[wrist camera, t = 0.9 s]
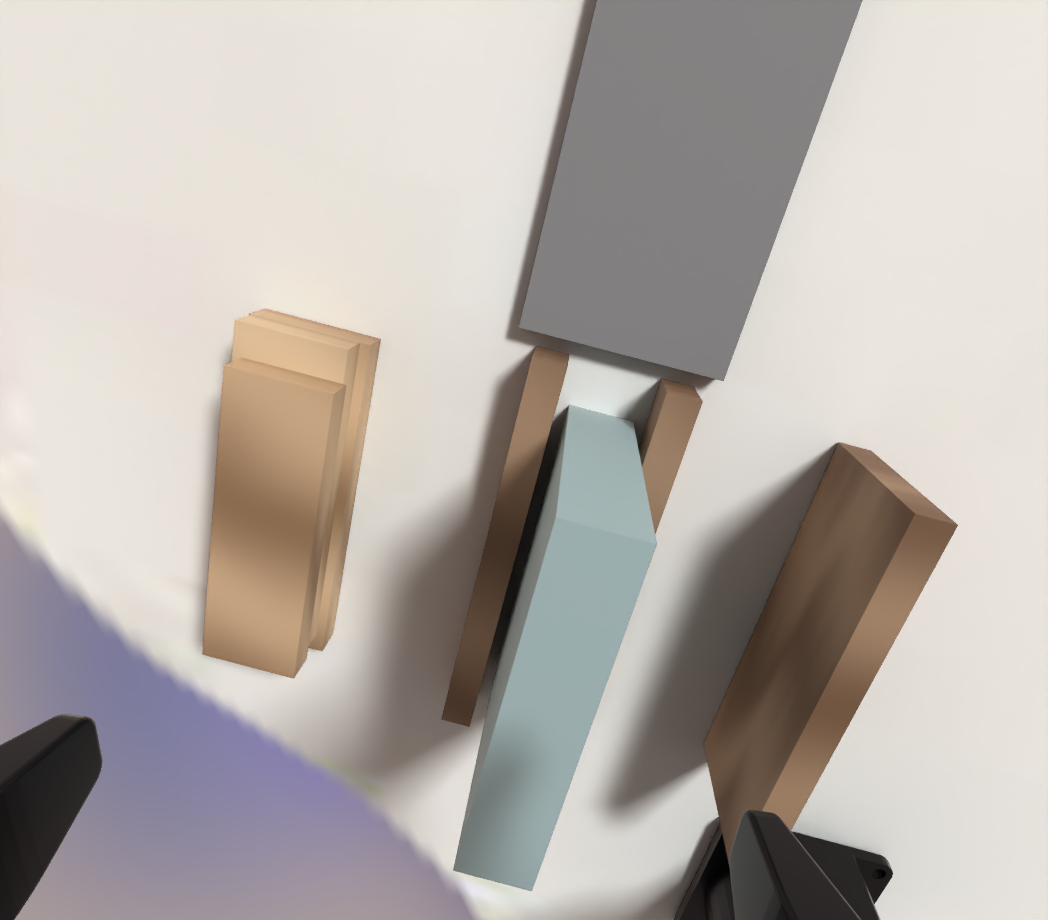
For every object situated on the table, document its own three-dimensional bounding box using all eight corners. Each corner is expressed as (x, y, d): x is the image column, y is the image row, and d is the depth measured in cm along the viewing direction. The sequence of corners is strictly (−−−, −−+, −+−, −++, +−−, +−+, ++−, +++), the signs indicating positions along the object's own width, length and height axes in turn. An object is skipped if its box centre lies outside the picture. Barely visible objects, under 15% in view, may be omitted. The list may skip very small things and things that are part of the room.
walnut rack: (725, 760, 24) (757, 891, 19) (450, 687, 24) (416, 801, 20) (878, 435, 19) (968, 505, 15) (536, 345, 19) (519, 387, 15)
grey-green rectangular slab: (550, 678, 24) (531, 891, 16) (497, 663, 24) (453, 870, 16) (633, 420, 20) (657, 543, 13) (569, 404, 20) (555, 517, 13)
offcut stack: (333, 633, 24) (298, 689, 21) (236, 608, 24) (189, 661, 21) (380, 339, 20) (346, 359, 17) (265, 308, 20) (211, 324, 17)
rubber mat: (719, 376, 19) (723, 381, 19) (520, 324, 19) (518, 327, 19) (901, -127, 15) (913, -140, 14) (644, -194, 15) (646, -210, 14)
